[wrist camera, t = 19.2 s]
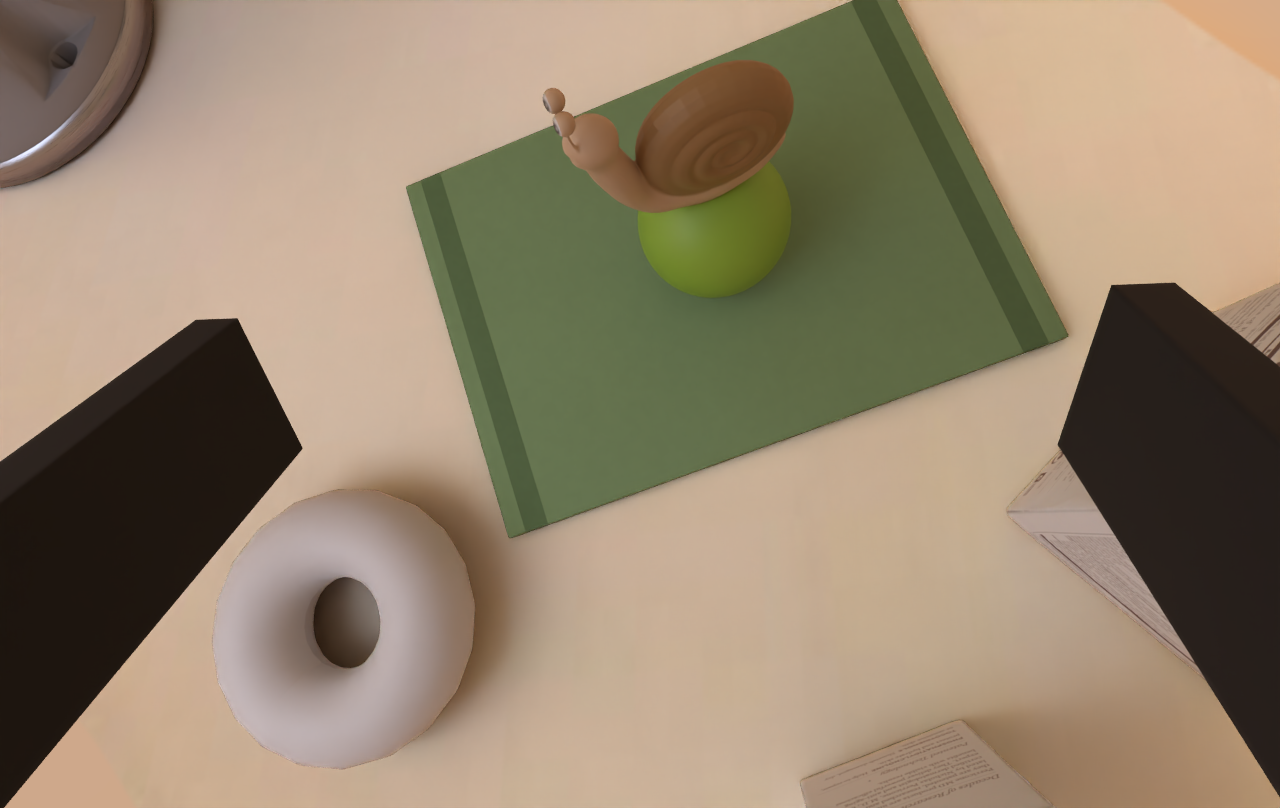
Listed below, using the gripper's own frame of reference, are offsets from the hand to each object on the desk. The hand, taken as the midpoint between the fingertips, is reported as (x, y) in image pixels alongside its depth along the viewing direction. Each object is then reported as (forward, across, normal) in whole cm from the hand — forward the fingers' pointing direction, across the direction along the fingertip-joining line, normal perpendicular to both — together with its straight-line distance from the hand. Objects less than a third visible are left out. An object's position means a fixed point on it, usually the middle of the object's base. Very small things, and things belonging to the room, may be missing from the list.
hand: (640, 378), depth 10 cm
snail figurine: (+16, 0, -5) cm, 17 cm away
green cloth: (+17, 0, -5) cm, 17 cm away
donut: (+7, -13, -15) cm, 21 cm away
